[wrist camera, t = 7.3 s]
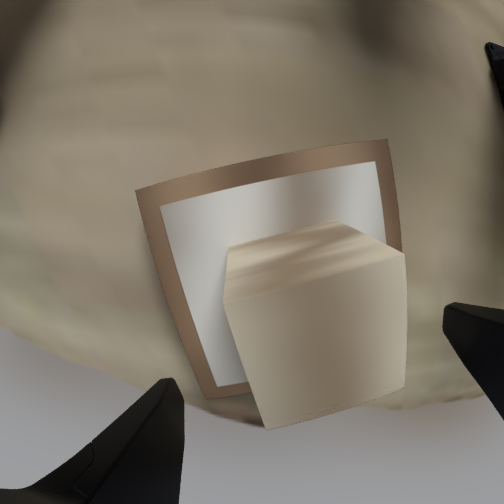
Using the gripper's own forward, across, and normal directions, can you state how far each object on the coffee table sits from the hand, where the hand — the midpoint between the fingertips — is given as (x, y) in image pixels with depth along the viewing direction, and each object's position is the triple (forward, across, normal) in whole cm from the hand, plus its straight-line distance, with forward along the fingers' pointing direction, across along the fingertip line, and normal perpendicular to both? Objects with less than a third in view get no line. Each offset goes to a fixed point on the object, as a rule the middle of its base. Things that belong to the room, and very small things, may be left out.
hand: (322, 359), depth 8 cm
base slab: (+9, 0, 0) cm, 9 cm away
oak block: (+6, 0, 0) cm, 6 cm away
